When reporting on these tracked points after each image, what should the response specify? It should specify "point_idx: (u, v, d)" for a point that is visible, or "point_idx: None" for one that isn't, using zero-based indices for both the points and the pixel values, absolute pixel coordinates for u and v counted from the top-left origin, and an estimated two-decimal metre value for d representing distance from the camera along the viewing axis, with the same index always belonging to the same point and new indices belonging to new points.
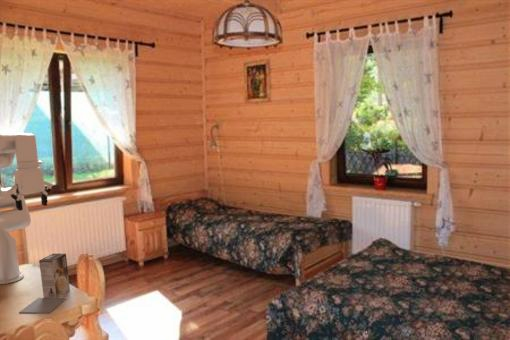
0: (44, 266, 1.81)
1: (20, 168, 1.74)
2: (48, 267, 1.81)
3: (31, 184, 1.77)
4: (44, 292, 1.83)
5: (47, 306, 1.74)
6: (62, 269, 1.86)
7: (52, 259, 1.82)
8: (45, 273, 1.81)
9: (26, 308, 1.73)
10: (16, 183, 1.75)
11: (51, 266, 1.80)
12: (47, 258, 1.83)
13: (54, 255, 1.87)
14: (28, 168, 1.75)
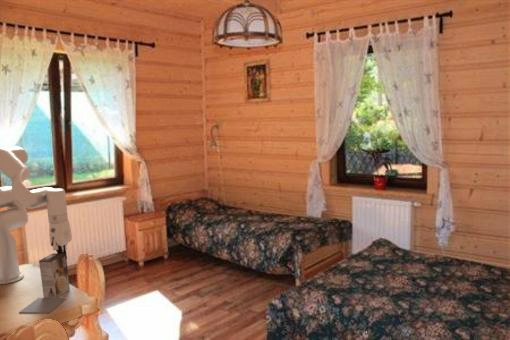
0: (44, 266, 1.81)
1: None
2: (48, 267, 1.81)
3: None
4: (44, 292, 1.83)
5: (47, 306, 1.74)
6: (62, 269, 1.86)
7: (52, 259, 1.81)
8: (45, 273, 1.81)
9: (26, 308, 1.73)
10: None
11: (51, 266, 1.80)
12: (47, 258, 1.83)
13: (54, 255, 1.87)
14: None
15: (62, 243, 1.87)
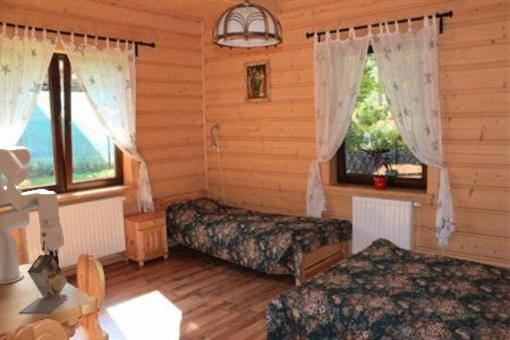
0: (34, 276, 1.75)
1: None
2: (39, 276, 1.75)
3: None
4: (42, 294, 1.82)
5: (47, 306, 1.74)
6: (54, 271, 1.80)
7: (40, 268, 1.74)
8: (37, 280, 1.77)
9: (26, 308, 1.73)
10: None
11: (41, 276, 1.74)
12: (35, 266, 1.76)
13: (41, 259, 1.79)
14: None
15: (53, 248, 1.80)
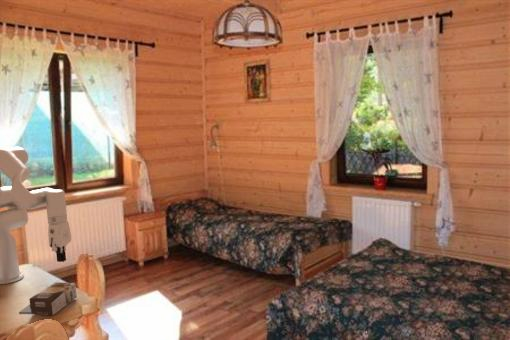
0: None
1: None
2: None
3: None
4: None
5: None
6: None
7: (34, 311, 1.67)
8: None
9: (26, 308, 1.73)
10: None
11: None
12: (36, 303, 1.66)
13: (45, 305, 1.65)
14: None
15: (61, 244, 1.87)
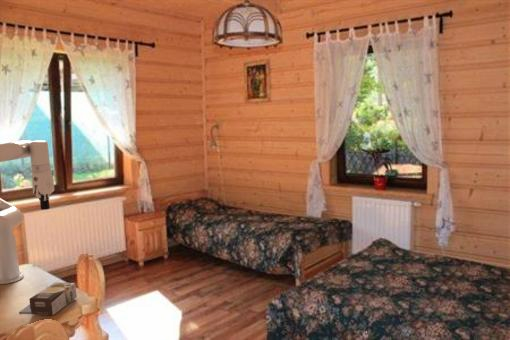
0: None
1: None
2: None
3: None
4: None
5: None
6: None
7: (34, 311, 1.67)
8: None
9: (26, 308, 1.73)
10: None
11: None
12: (36, 303, 1.66)
13: (45, 305, 1.65)
14: None
15: (44, 192, 1.97)
